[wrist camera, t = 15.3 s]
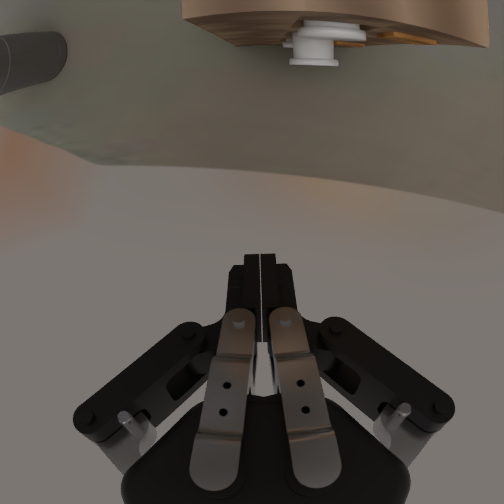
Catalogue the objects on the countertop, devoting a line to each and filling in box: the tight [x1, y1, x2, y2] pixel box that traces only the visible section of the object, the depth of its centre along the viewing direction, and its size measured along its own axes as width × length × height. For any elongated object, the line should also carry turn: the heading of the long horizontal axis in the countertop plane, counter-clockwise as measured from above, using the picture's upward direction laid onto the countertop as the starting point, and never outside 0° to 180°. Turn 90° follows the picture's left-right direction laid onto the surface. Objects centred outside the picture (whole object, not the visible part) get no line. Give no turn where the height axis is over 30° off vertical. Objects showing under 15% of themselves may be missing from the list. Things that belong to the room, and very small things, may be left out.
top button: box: [298, 20, 366, 41], centre depth 14 cm, size 4×5×4 cm
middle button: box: [289, 32, 339, 66], centre depth 22 cm, size 4×5×4 cm
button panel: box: [182, 0, 489, 48], centre depth 21 cm, size 16×7×31 cm, turn 93°
